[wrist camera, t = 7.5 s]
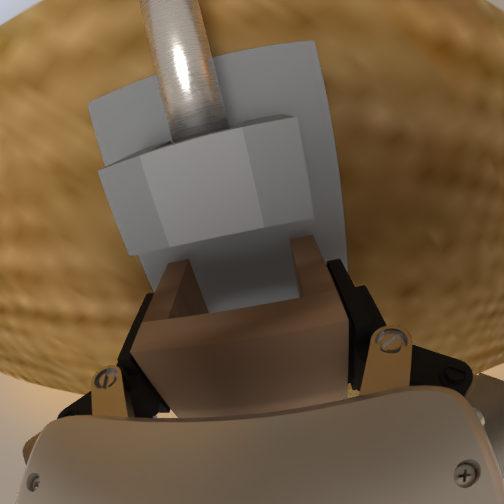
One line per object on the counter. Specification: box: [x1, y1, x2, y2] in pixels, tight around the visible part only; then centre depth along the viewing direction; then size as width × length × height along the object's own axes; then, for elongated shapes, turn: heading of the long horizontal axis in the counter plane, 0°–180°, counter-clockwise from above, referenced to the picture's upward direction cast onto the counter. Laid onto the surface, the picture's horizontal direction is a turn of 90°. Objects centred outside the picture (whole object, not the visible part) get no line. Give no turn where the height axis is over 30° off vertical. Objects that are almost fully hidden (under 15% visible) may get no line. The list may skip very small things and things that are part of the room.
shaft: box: [139, 0, 230, 143], centre depth 8 cm, size 4×15×3 cm, turn 12°
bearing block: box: [87, 40, 348, 313], centre depth 13 cm, size 10×20×5 cm, turn 12°
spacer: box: [130, 235, 349, 418], centre depth 11 cm, size 6×4×5 cm, turn 102°
